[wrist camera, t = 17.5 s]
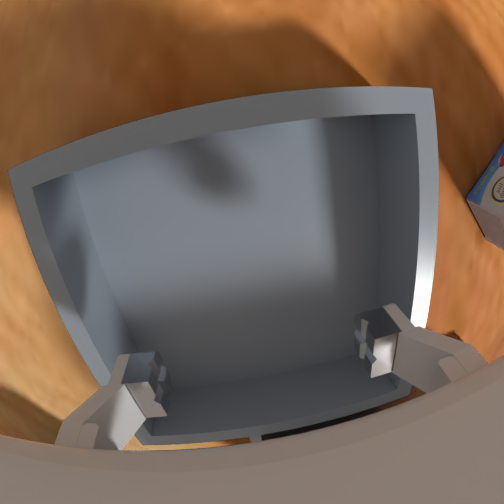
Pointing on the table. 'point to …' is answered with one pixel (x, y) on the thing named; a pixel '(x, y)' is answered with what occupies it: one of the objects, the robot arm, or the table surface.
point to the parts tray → (242, 250)
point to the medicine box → (490, 200)
